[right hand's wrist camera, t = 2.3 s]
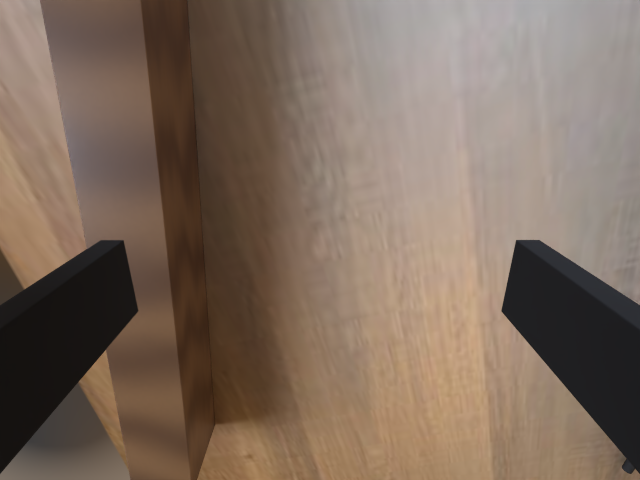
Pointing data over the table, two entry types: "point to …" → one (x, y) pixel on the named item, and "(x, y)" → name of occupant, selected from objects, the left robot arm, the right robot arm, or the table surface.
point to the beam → (142, 212)
